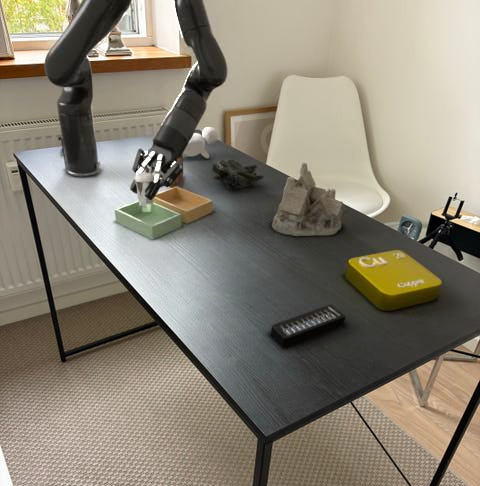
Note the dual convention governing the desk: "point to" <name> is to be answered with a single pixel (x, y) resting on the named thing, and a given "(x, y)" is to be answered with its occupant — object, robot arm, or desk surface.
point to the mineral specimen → (235, 174)
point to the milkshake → (144, 190)
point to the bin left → (148, 219)
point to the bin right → (184, 203)
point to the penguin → (200, 142)
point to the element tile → (392, 280)
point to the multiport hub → (307, 325)
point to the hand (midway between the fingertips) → (140, 194)
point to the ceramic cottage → (308, 208)
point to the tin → (180, 177)
